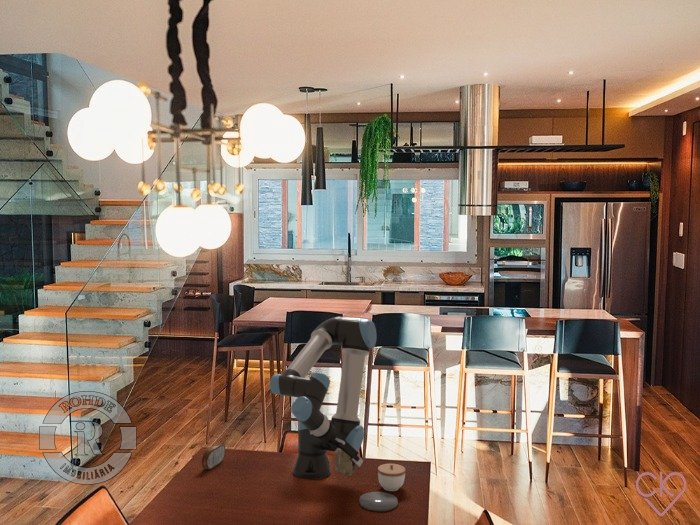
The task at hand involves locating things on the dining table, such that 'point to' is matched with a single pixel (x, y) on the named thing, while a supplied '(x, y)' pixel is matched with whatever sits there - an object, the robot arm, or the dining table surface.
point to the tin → (213, 456)
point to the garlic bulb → (344, 463)
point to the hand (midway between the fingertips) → (353, 460)
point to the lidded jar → (391, 476)
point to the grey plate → (378, 501)
